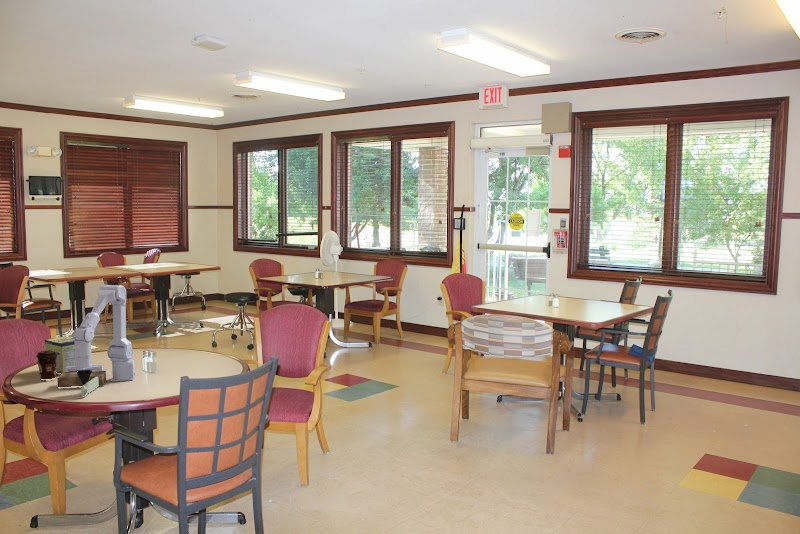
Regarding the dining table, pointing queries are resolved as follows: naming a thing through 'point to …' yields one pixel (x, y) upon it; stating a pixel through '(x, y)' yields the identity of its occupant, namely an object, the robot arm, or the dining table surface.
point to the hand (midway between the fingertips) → (85, 387)
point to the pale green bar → (90, 386)
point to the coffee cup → (47, 364)
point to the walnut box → (74, 379)
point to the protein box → (63, 352)
